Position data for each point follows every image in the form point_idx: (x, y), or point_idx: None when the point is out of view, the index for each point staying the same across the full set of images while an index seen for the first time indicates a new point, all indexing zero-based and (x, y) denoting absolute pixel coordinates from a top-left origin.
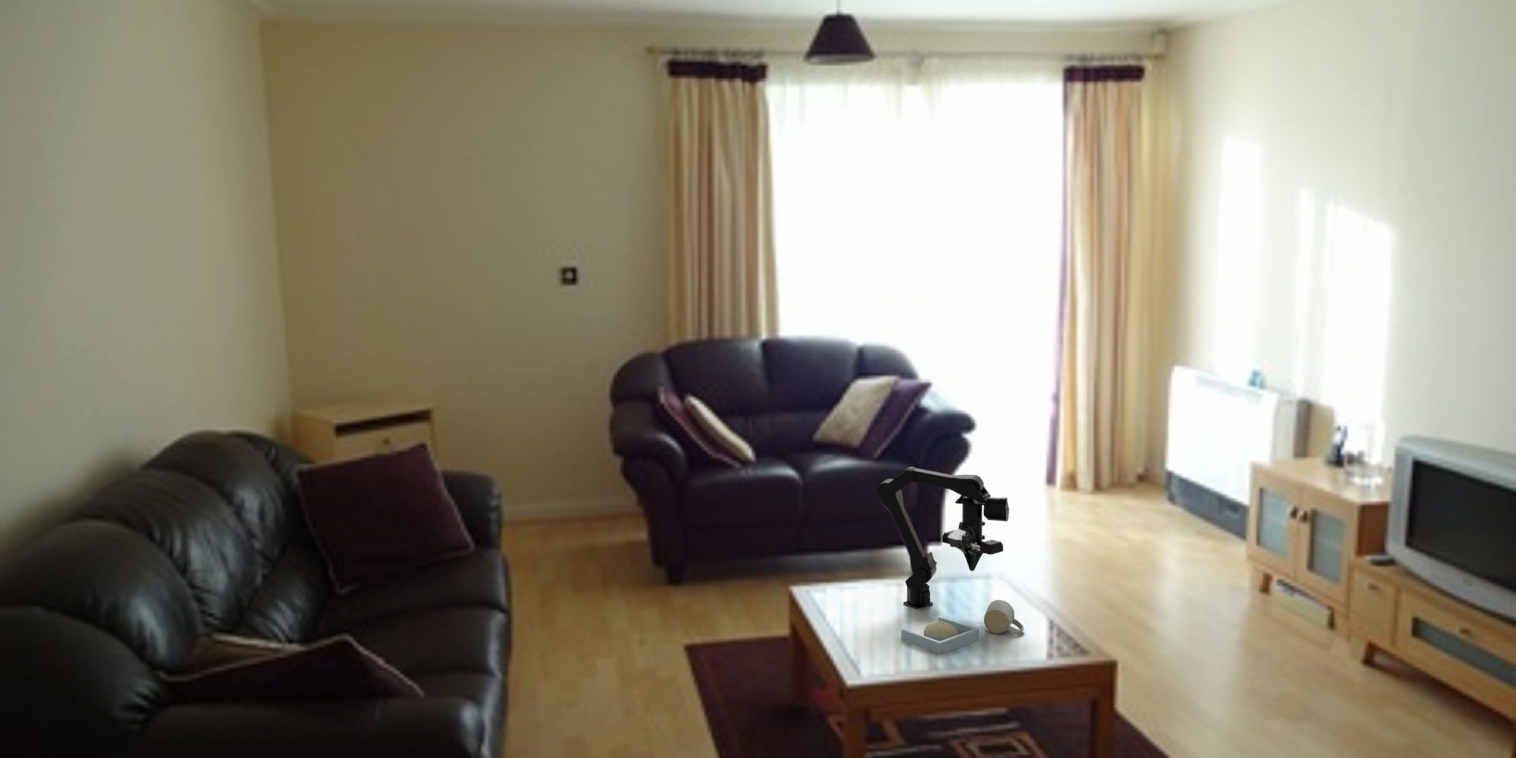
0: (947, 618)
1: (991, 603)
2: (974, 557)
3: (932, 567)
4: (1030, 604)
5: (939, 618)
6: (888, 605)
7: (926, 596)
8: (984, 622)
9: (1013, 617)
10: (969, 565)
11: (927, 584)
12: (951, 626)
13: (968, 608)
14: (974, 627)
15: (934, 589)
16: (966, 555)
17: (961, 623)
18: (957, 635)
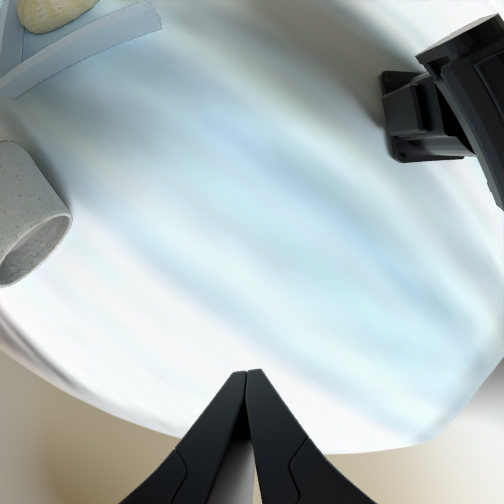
0: (109, 24)
1: (5, 220)
2: (136, 497)
3: (497, 87)
4: None
5: (142, 4)
6: None
7: (403, 103)
8: (10, 141)
9: (6, 264)
10: (255, 400)
11: (462, 142)
12: (24, 2)
13: (277, 258)
14: (4, 85)
15: (483, 282)
16: (294, 495)
17: (44, 55)
18: (4, 15)
